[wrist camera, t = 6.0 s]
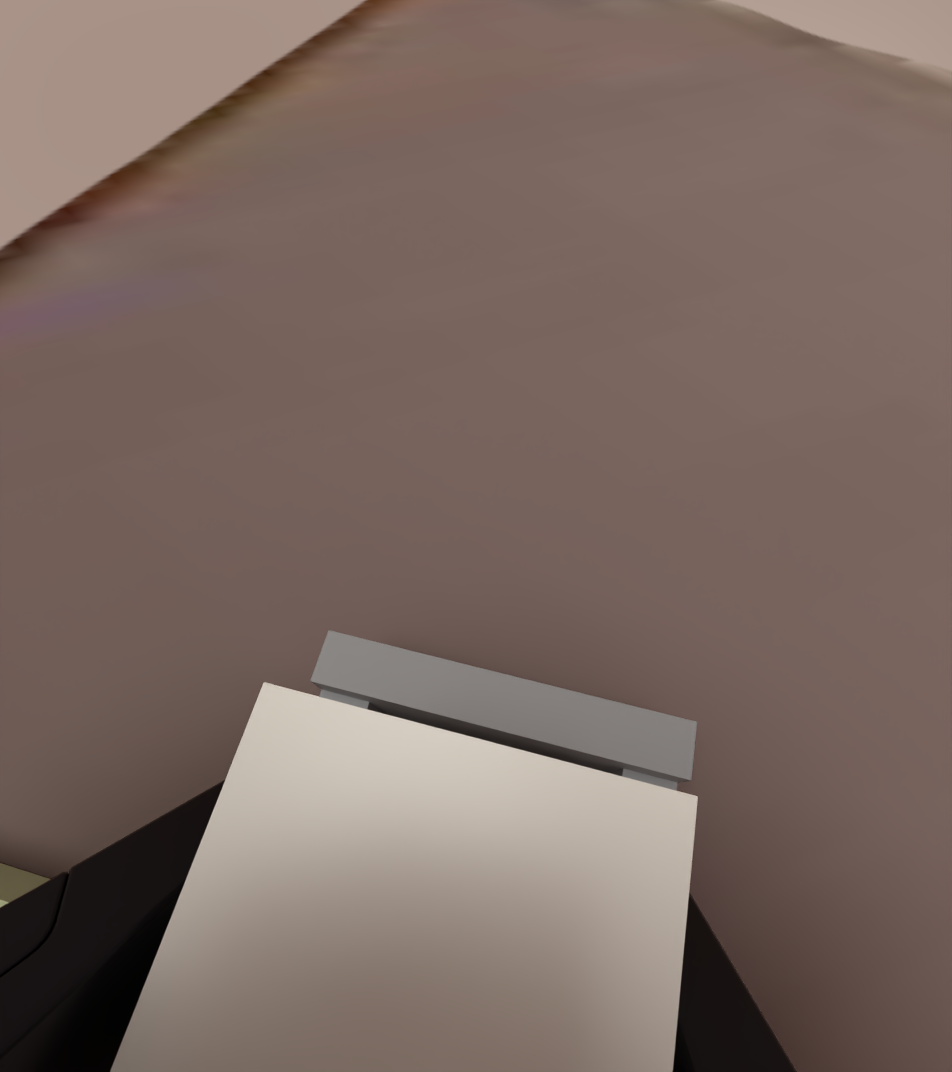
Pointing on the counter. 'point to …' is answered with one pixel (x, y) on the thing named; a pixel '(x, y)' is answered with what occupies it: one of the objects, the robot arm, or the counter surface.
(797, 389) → the counter surface
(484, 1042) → the white block
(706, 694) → the counter surface
